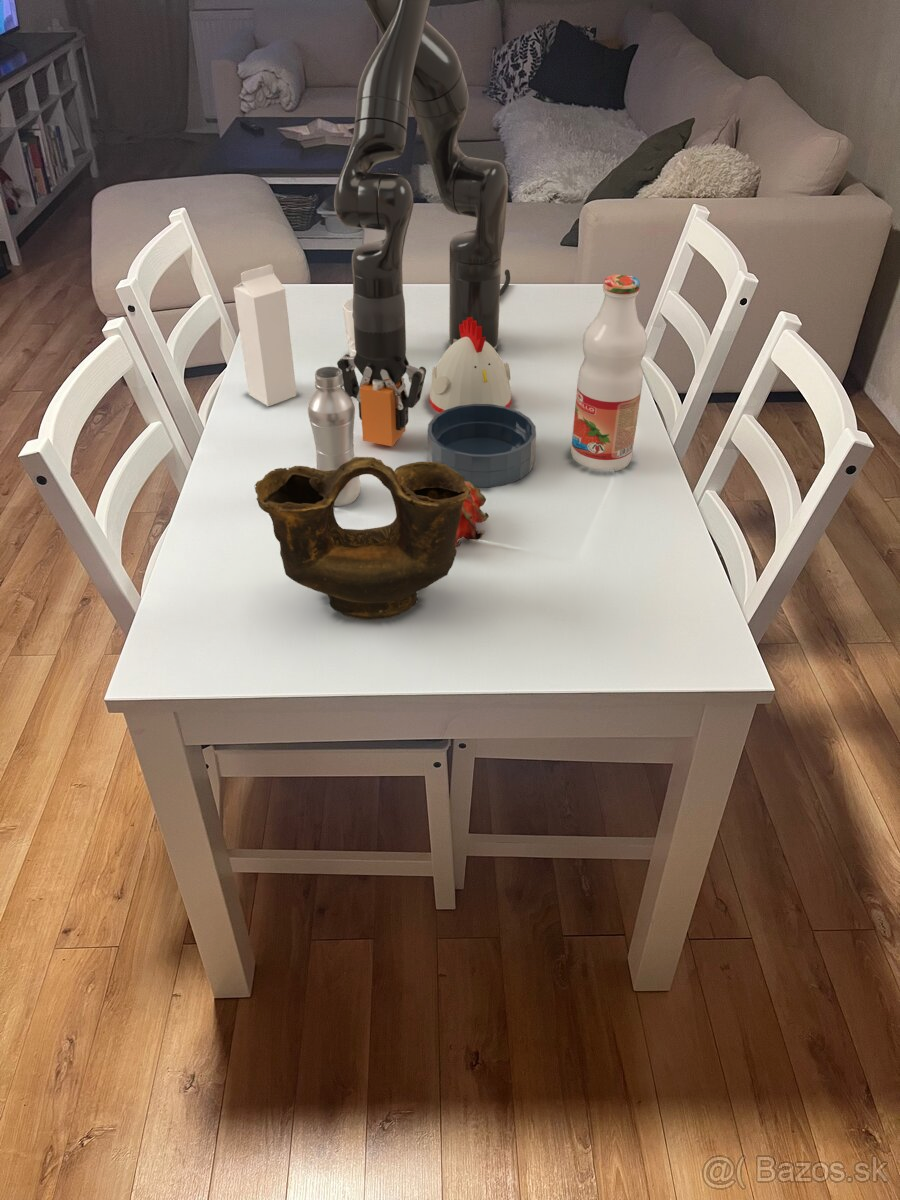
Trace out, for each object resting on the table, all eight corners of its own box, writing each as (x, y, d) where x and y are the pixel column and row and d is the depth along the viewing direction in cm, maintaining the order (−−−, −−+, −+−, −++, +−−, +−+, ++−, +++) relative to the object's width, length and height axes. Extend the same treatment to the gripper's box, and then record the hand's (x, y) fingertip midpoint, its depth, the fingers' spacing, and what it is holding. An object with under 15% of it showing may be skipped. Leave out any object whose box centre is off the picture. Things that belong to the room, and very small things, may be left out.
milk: (297, 396, 162) (284, 268, 148) (267, 407, 159) (251, 278, 145) (276, 384, 165) (262, 258, 151) (247, 394, 162) (230, 267, 148)
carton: (376, 425, 150) (374, 366, 144) (405, 430, 149) (404, 371, 143) (362, 441, 146) (359, 381, 140) (392, 446, 145) (390, 387, 139)
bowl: (449, 430, 153) (449, 396, 149) (545, 448, 148) (548, 413, 144) (412, 479, 141) (411, 444, 137) (515, 500, 136) (517, 464, 133)
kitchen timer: (449, 430, 153) (449, 342, 143) (417, 394, 162) (415, 310, 153) (525, 413, 157) (530, 328, 148) (489, 380, 167) (491, 297, 157)
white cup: (397, 354, 175) (395, 302, 169) (372, 370, 170) (369, 316, 164) (363, 344, 178) (360, 293, 172) (337, 359, 173) (333, 307, 167)
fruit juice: (639, 471, 143) (666, 290, 125) (579, 476, 142) (598, 295, 124) (620, 441, 150) (643, 266, 132) (563, 446, 149) (579, 270, 131)
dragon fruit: (471, 520, 135) (450, 578, 127) (423, 487, 133) (399, 544, 125) (505, 488, 129) (486, 547, 121) (456, 453, 127) (433, 511, 119)
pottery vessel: (268, 631, 114) (247, 492, 101) (272, 576, 122) (253, 442, 110) (473, 618, 116) (477, 480, 103) (463, 565, 124) (465, 432, 112)
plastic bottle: (368, 492, 138) (361, 365, 125) (350, 516, 133) (340, 387, 120) (328, 484, 140) (317, 358, 127) (309, 508, 135) (295, 379, 122)
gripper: (434, 317, 137) (435, 422, 147) (345, 304, 140) (352, 407, 151) (415, 337, 131) (417, 444, 142) (323, 322, 135) (331, 428, 146)
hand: (383, 424), depth 146 cm, fingers closed on carton, 5 cm apart
